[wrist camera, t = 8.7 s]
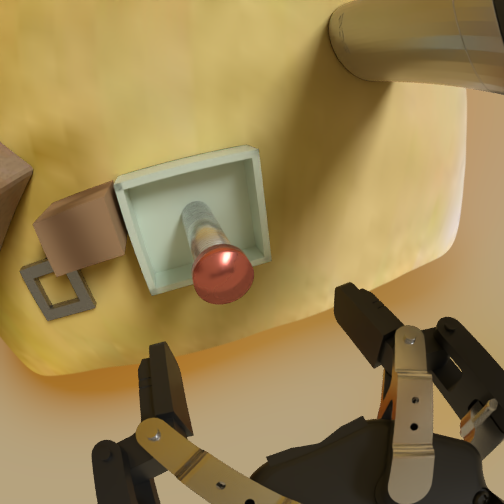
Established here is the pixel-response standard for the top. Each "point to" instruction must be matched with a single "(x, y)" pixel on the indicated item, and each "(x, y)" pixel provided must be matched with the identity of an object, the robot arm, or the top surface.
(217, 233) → the pin
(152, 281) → the tray
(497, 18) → the robot arm
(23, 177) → the wooden block
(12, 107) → the top surface
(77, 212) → the block
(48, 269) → the pin socket
